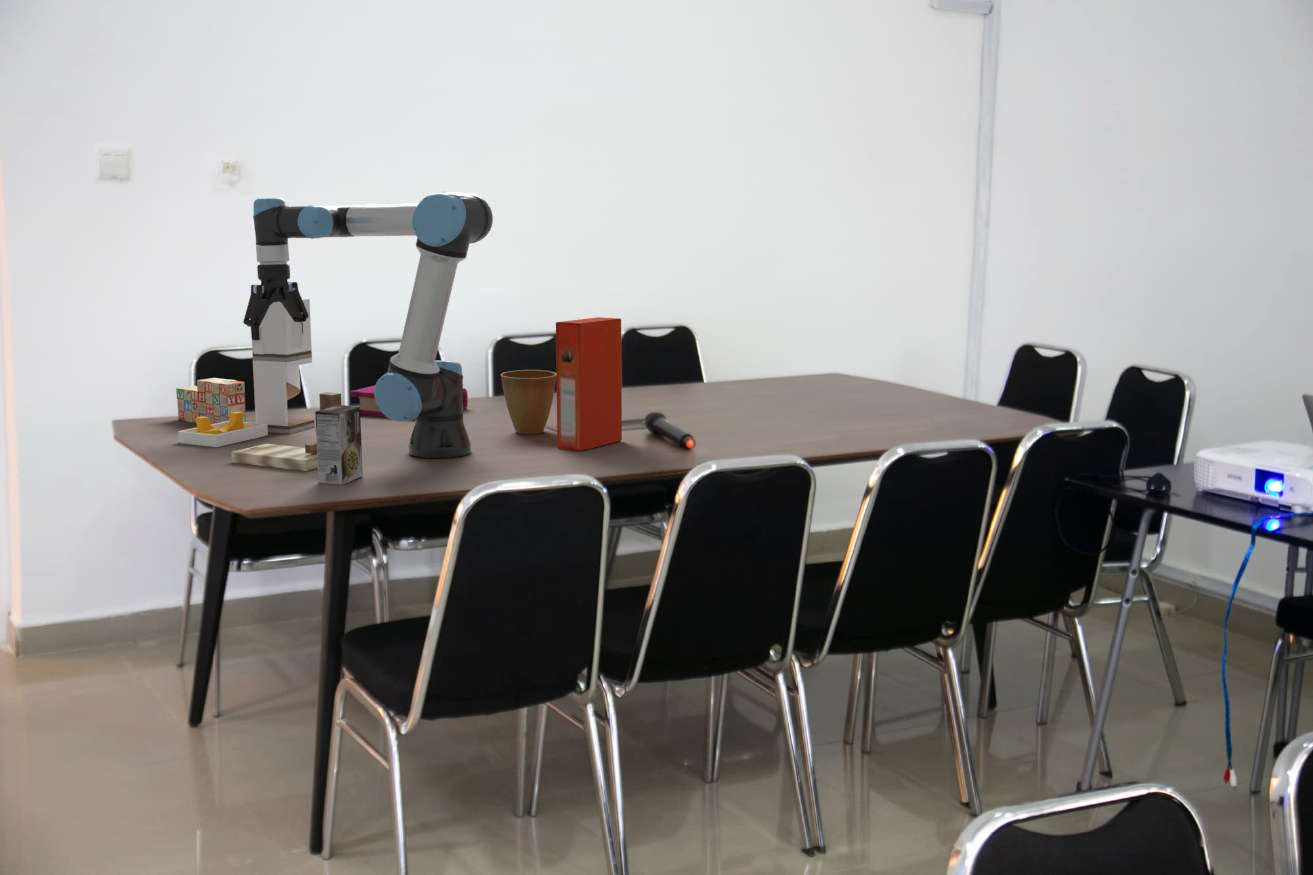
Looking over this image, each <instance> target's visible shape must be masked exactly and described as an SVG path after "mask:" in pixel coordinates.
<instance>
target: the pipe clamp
mask: <svg viewBox="0 0 1313 875" xmlns="http://www.w3.org/2000/svg"><path fill="white" fill-rule="evenodd" d="M196 422H197V423H196V428H197V433H205V434H214V435H217V434H221V433H226V432H230V431H235V430H240V429H244V423H243V413H242V412H231V416H230V420H229V422H228V424H227V425H226V426H225V427H223V428H222V429H219V430H218V429H214V428H213V427H212V426H211V424H210V421H209V417H204V416H201V417H196Z"/></svg>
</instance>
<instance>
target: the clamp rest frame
mask: <svg viewBox="0 0 1313 875" xmlns="http://www.w3.org/2000/svg"><path fill="white" fill-rule="evenodd" d="M228 422H229V421H226V422H221V423H216V424H211V426H212V427H213V428H214V429H218V430H219V429H222V428H223V427H225V426H226V425H227V424H228ZM243 423H244V429H240V430H235V431H230V432H226V433H221V434H217V435H214V434H205V433H197V427H193V428H186V429H183V430H178V431H177V437H178V444H185V445H192V446H193V445H194V446H203V447H211V448H212V447H213V448H220V447H225V446H227V445H233V444H237V443H241V442H245V441H251V440H254V439H258V438H262V437H267V436H269V434H268V433H269V432H268V430H267V424H260V423H256V422H250V421H249V422H247V421H246V422H243Z"/></svg>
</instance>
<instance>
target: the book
mask: <svg viewBox="0 0 1313 875" xmlns="http://www.w3.org/2000/svg"><path fill="white" fill-rule="evenodd" d="M374 390H375V385H371V386H367V387H363V388H362V387H361V388H359V389H352V390H349V396H350V397H353V398H358V399H359V407H360V416H374V417H376V416H377V417H386V418H388V417H387V416H385V415H384V414H383V413H382V412H381V410H380V408H379V406H378V405H377V403H376V401H375V395H374ZM468 399H469V397H468V391H467V388H464V387H463V412H464V411H466V410H467V409H468V404H469V403H468Z"/></svg>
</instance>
